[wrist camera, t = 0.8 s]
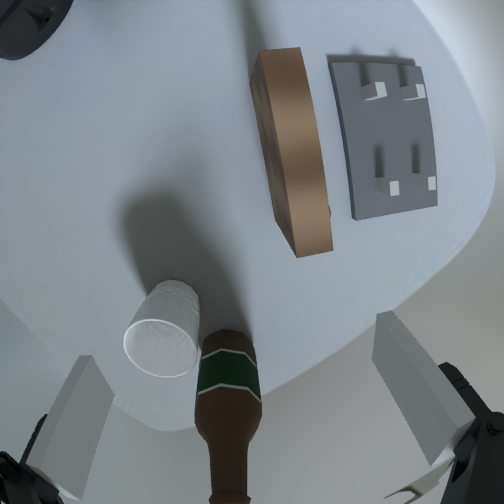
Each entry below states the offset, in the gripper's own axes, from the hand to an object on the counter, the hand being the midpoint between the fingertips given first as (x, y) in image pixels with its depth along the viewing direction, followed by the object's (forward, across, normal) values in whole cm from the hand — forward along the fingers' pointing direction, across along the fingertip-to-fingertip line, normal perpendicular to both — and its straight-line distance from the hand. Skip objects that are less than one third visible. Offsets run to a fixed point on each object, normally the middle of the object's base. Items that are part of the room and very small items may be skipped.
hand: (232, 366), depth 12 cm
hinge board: (+23, +21, +8) cm, 32 cm away
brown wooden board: (+23, +6, +8) cm, 25 cm away
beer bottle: (+23, -4, -18) cm, 29 cm away
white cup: (+23, -9, -9) cm, 27 cm away
